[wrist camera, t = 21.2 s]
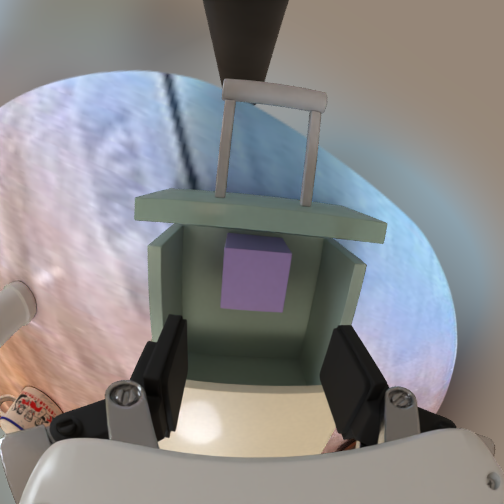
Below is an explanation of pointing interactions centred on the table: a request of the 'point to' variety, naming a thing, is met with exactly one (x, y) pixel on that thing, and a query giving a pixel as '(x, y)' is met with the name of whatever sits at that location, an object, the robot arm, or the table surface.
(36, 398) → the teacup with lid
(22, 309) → the bottle
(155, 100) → the table surface
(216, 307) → the drawer
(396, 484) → the robot arm
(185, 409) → the beige box
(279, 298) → the purple cube
